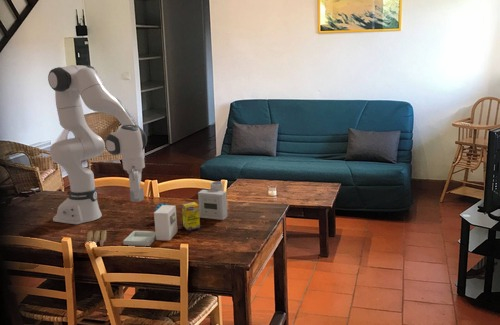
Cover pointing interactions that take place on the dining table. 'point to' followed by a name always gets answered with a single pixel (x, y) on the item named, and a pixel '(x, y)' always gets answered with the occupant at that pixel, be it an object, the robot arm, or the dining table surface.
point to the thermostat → (213, 202)
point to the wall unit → (165, 222)
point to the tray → (140, 238)
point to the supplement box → (191, 216)
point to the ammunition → (97, 237)
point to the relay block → (141, 196)
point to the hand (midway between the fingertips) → (137, 196)
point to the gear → (159, 206)
